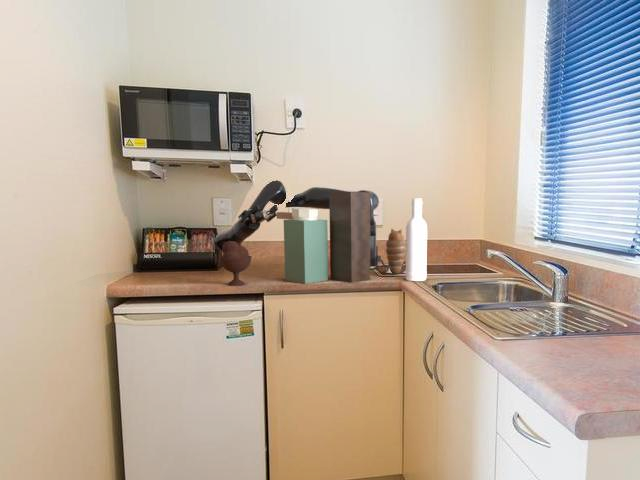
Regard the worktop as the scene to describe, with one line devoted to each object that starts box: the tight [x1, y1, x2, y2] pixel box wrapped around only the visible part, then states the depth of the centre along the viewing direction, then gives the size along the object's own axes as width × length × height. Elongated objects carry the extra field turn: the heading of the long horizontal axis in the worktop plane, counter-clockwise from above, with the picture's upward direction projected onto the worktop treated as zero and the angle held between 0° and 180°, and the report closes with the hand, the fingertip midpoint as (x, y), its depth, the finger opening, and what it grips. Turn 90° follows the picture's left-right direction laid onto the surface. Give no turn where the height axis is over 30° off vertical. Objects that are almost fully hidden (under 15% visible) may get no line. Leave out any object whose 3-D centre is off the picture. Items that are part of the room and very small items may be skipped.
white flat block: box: [276, 207, 319, 220], centre depth 187 cm, size 9×20×4 cm, turn 52°
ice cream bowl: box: [218, 241, 252, 287], centre depth 176 cm, size 11×11×15 cm
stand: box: [328, 191, 371, 283], centre depth 188 cm, size 10×11×32 cm
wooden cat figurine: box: [385, 228, 406, 275], centre depth 204 cm, size 9×8×18 cm
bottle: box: [404, 198, 428, 282], centre depth 190 cm, size 8×8×30 cm
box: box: [283, 219, 329, 285], centre depth 186 cm, size 11×11×22 cm
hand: (267, 207), depth 197 cm, fingers open, 8 cm apart
